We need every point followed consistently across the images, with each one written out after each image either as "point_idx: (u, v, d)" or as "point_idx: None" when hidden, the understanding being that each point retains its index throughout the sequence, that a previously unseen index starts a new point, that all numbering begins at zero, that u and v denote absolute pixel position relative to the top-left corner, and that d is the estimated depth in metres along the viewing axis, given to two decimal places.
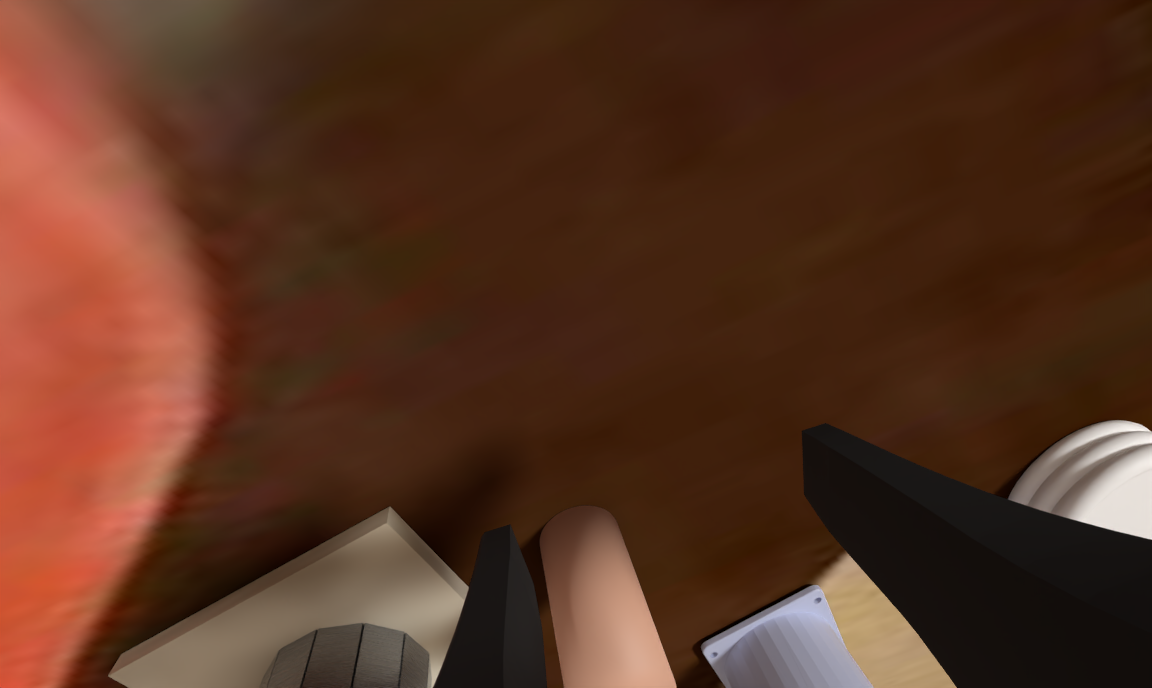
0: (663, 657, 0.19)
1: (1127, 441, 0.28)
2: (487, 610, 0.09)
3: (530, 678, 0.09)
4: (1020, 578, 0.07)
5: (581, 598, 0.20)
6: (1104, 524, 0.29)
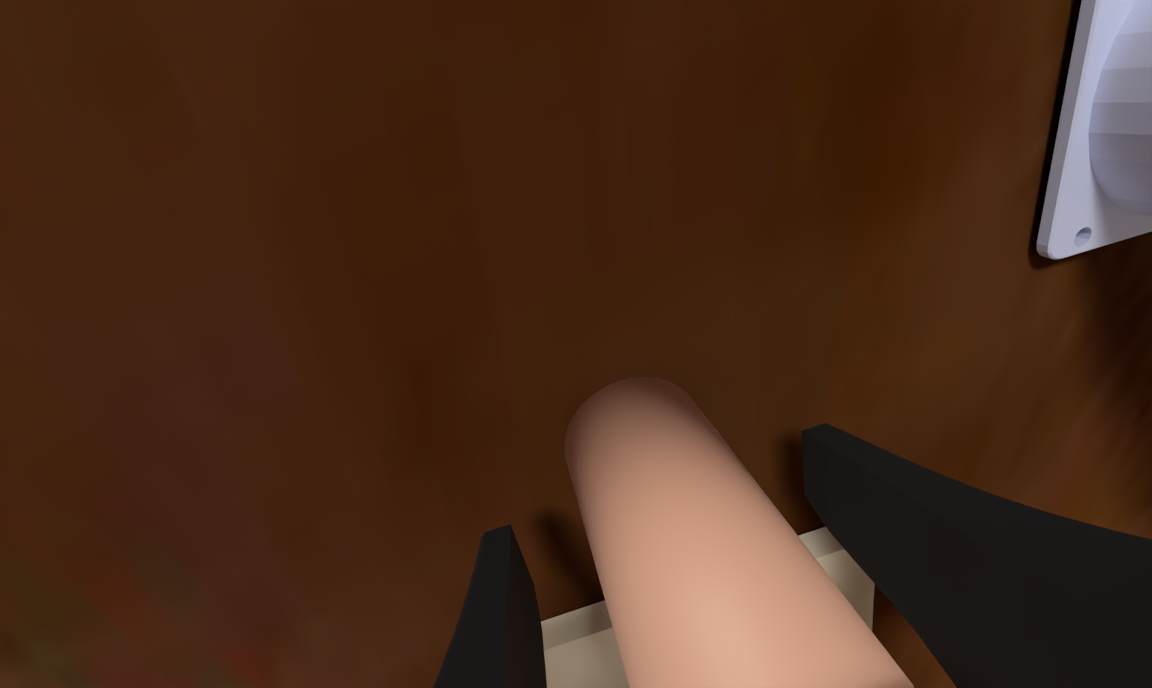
0: (744, 639, 0.07)
1: None
2: (487, 610, 0.09)
3: (530, 678, 0.09)
4: (1020, 577, 0.07)
5: (608, 611, 0.10)
6: None
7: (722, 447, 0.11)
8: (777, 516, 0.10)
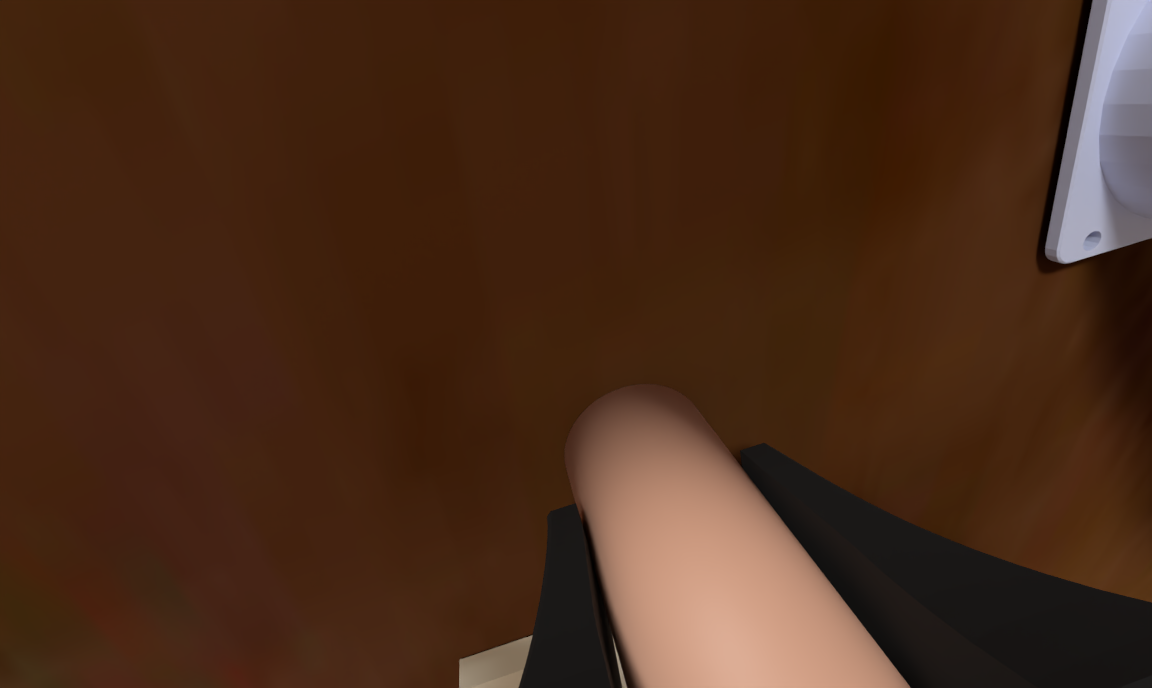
0: (753, 665, 0.07)
1: None
2: (570, 583, 0.09)
3: (609, 651, 0.10)
4: (920, 613, 0.07)
5: (611, 629, 0.10)
6: None
7: (727, 458, 0.11)
8: (785, 531, 0.09)
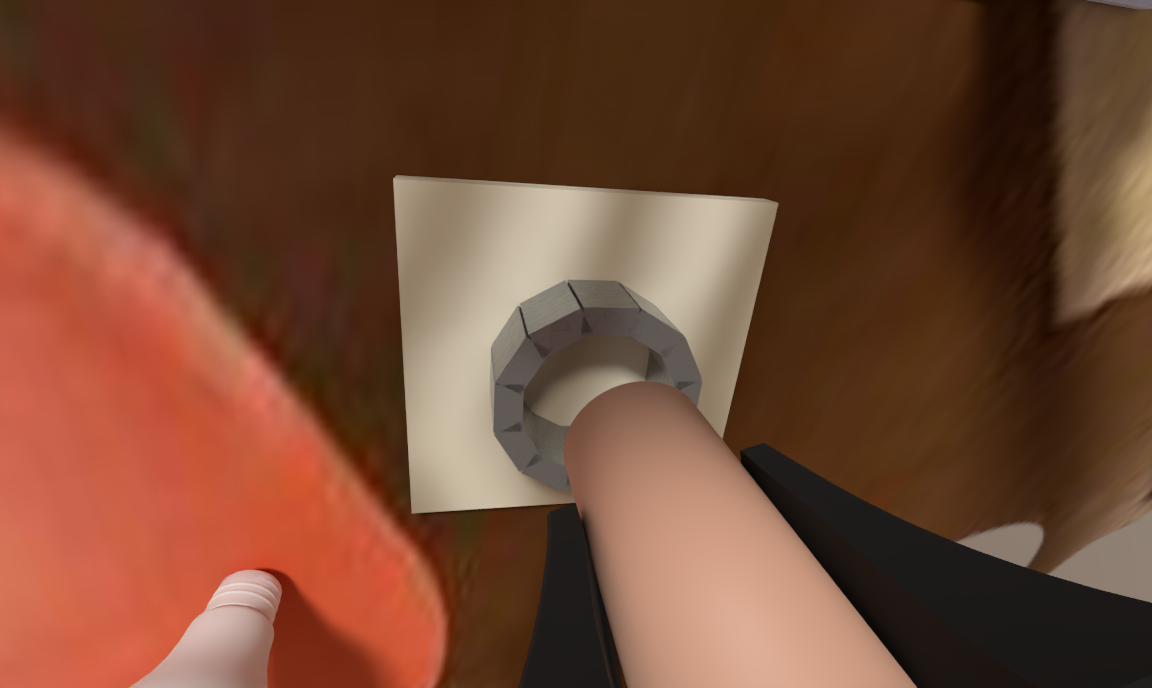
0: (751, 654, 0.07)
1: None
2: (570, 582, 0.09)
3: (609, 651, 0.10)
4: (920, 613, 0.07)
5: None
6: None
7: (726, 453, 0.11)
8: (784, 524, 0.09)
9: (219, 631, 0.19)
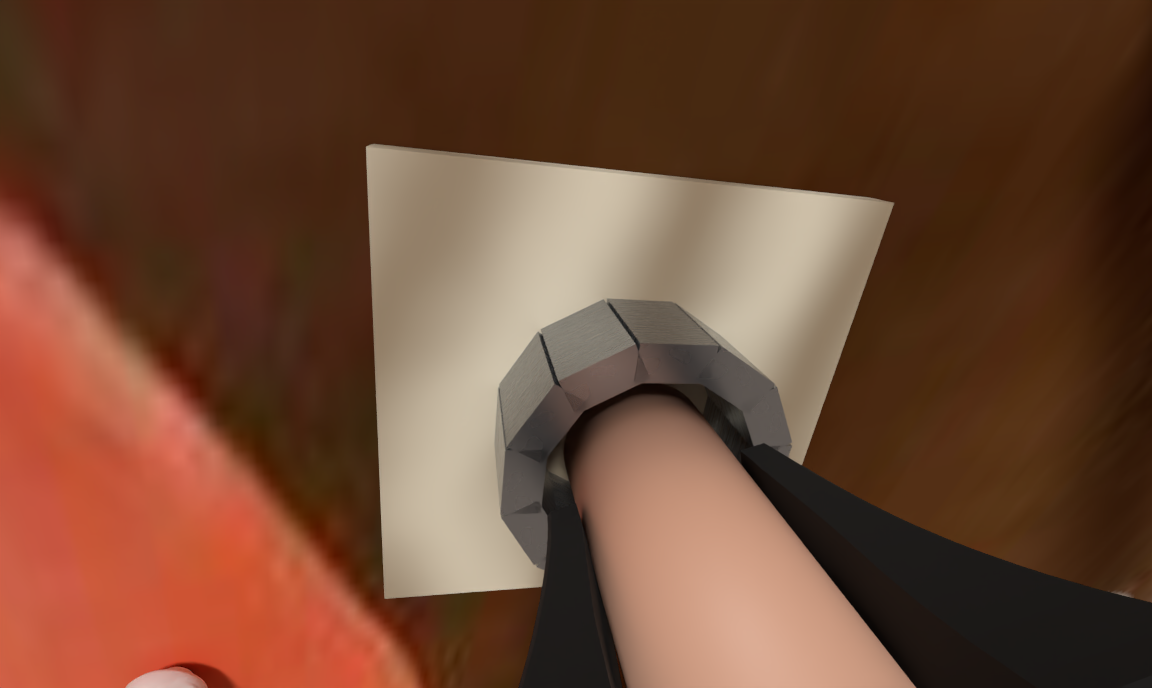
0: (751, 655, 0.07)
1: None
2: (570, 582, 0.09)
3: (609, 651, 0.10)
4: (920, 614, 0.07)
5: None
6: None
7: (726, 454, 0.11)
8: (783, 525, 0.09)
9: None
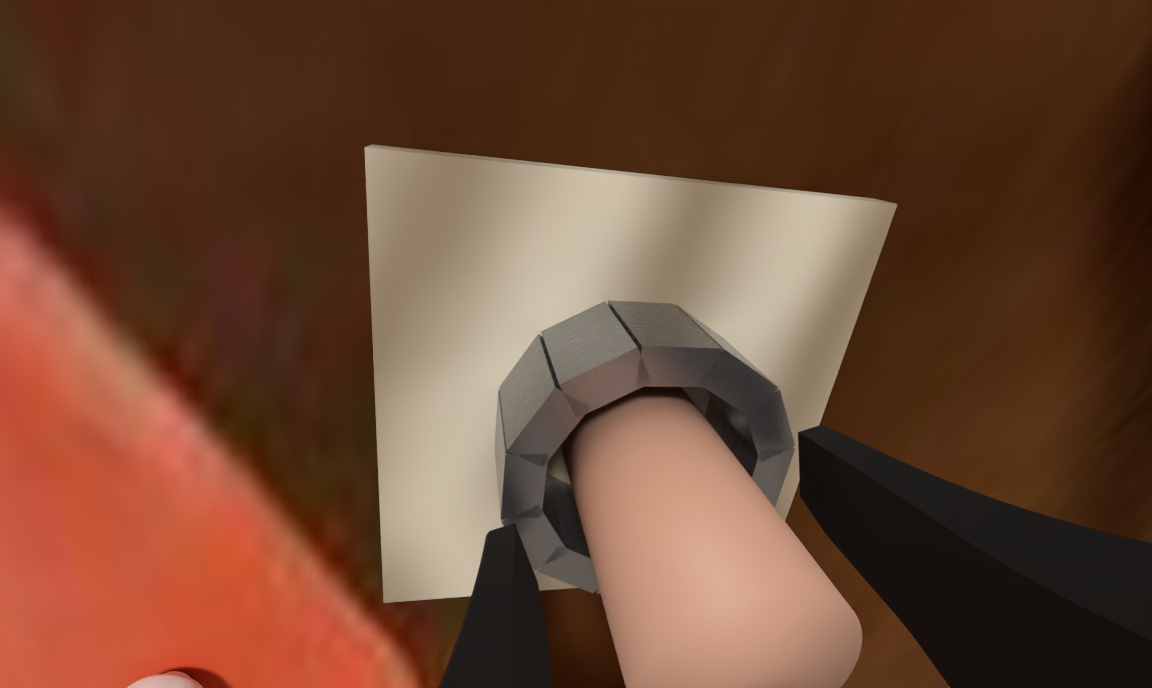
0: (706, 571, 0.08)
1: None
2: (493, 608, 0.09)
3: (536, 676, 0.09)
4: (1013, 580, 0.07)
5: None
6: None
7: (700, 419, 0.12)
8: (745, 476, 0.11)
9: None
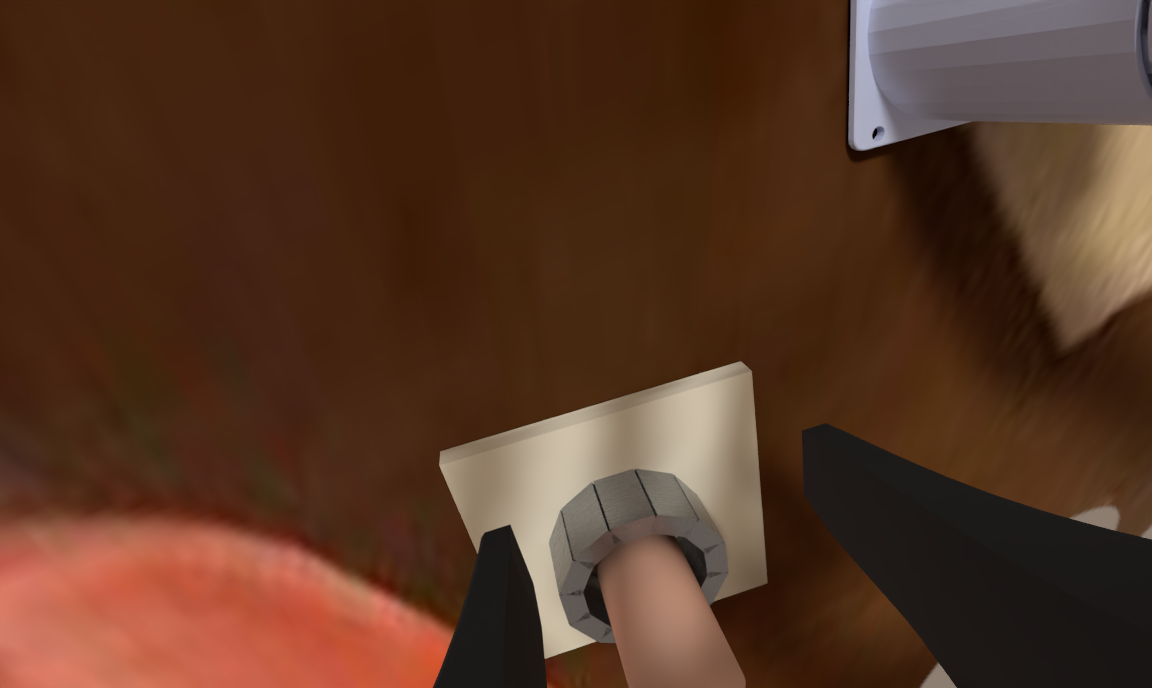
0: (654, 661, 0.18)
1: None
2: (487, 610, 0.09)
3: (530, 678, 0.09)
4: (1020, 578, 0.07)
5: None
6: None
7: (660, 546, 0.22)
8: (681, 588, 0.20)
9: None
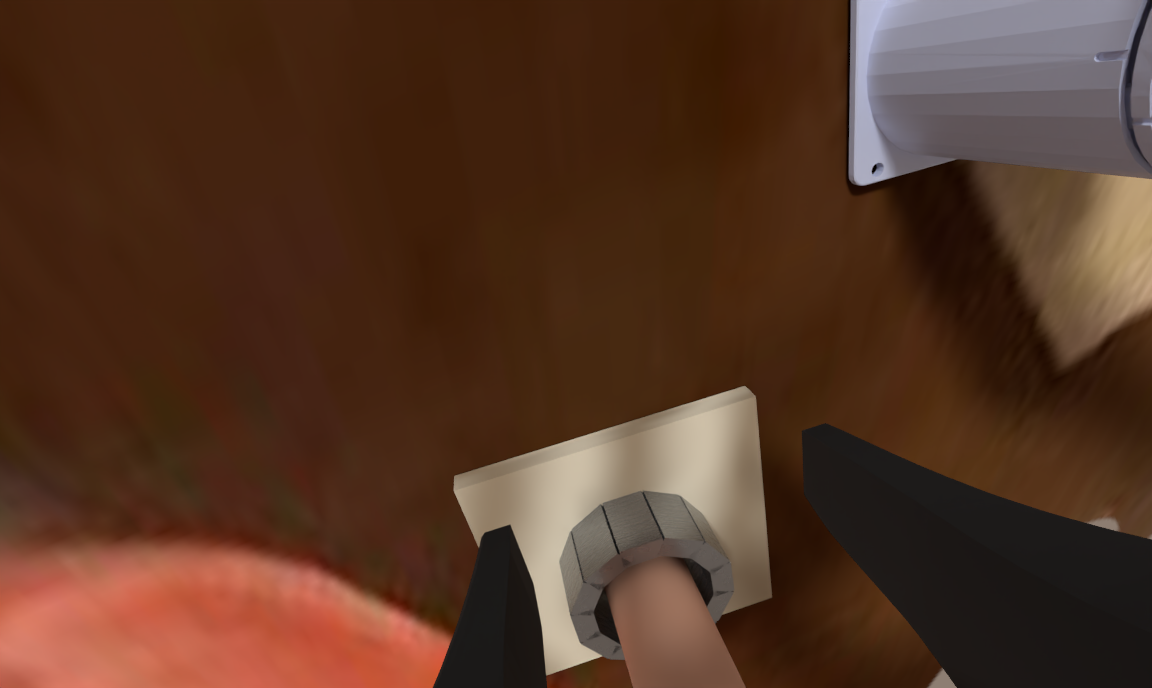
0: (663, 683, 0.18)
1: None
2: (487, 610, 0.09)
3: (530, 678, 0.09)
4: (1021, 578, 0.07)
5: None
6: None
7: (667, 568, 0.23)
8: (689, 610, 0.21)
9: None
